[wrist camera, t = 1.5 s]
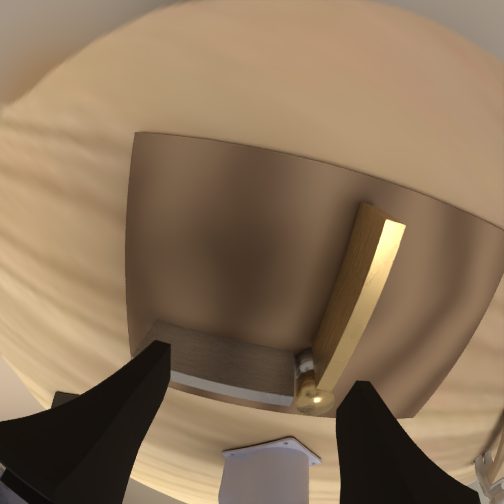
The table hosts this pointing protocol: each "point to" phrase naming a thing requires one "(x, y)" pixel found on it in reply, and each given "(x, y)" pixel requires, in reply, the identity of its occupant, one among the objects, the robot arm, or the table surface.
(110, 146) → the table surface
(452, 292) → the walnut board
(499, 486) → the hammer
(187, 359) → the strip
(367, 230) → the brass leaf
